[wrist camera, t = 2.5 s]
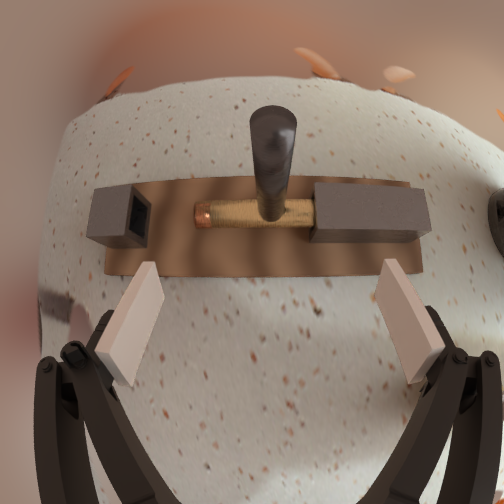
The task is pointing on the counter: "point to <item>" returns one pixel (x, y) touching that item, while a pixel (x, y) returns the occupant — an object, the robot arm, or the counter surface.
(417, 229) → the outer sleeve
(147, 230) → the socket
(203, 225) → the sliding bolt
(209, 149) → the counter surface
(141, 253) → the base board
